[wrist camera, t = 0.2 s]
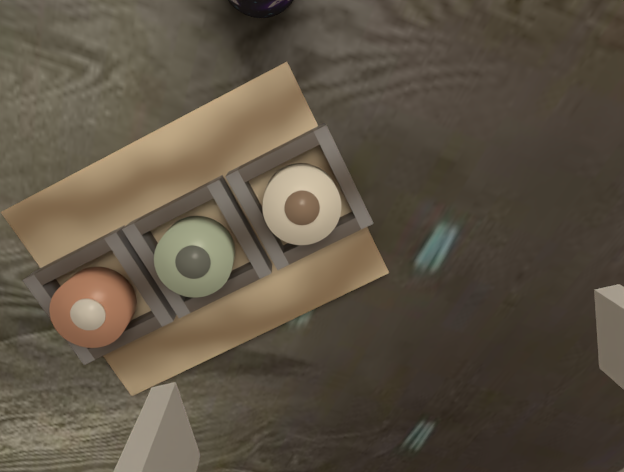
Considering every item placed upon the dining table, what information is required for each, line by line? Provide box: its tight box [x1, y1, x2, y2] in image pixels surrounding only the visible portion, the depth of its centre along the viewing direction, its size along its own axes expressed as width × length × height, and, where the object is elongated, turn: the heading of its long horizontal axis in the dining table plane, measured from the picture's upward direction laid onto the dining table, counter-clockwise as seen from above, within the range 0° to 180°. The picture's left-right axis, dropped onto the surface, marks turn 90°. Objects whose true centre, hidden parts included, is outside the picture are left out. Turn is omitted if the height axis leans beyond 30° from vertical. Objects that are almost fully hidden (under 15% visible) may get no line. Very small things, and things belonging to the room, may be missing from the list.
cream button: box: [263, 163, 341, 245], centre depth 36 cm, size 5×5×3 cm
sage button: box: [154, 216, 235, 298], centre depth 36 cm, size 5×5×3 cm
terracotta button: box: [49, 267, 137, 348], centre depth 37 cm, size 5×5×3 cm
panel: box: [1, 62, 389, 396], centre depth 39 cm, size 18×25×4 cm
